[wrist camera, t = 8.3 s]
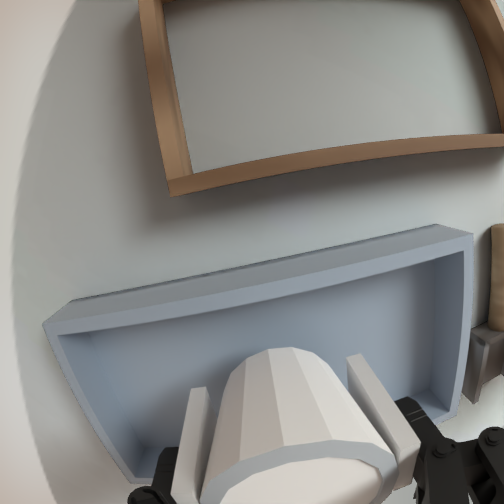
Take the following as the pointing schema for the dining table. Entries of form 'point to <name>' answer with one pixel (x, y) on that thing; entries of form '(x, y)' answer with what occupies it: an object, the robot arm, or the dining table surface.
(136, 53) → the dining table surface
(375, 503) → the white faceted cup
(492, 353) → the hand scoop
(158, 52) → the walnut frame
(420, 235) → the bin
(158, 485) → the robot arm
